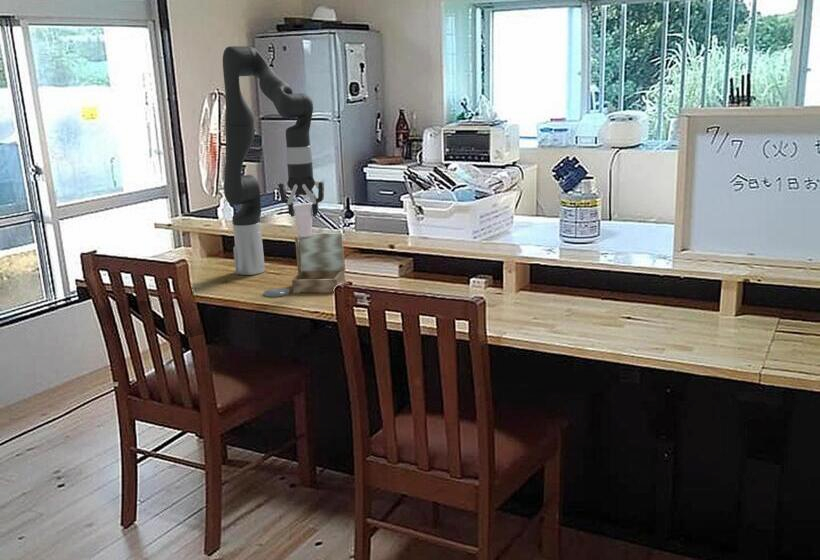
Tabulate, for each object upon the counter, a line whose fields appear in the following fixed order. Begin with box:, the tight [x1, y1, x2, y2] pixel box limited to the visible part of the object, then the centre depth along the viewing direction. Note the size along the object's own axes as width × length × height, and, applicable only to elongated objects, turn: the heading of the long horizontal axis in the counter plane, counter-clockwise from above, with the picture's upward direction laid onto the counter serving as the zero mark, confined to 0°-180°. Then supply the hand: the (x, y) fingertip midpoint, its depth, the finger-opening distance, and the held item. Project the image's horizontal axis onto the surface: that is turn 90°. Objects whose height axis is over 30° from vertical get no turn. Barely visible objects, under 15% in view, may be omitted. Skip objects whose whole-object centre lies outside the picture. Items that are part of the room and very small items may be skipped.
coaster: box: [263, 287, 291, 298], centre depth 251 cm, size 8×8×1 cm
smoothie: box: [293, 195, 313, 237], centre depth 249 cm, size 6×6×14 cm
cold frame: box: [291, 232, 346, 294], centre depth 254 cm, size 15×13×16 cm
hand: (303, 215), depth 249 cm, fingers closed on smoothie, 6 cm apart
